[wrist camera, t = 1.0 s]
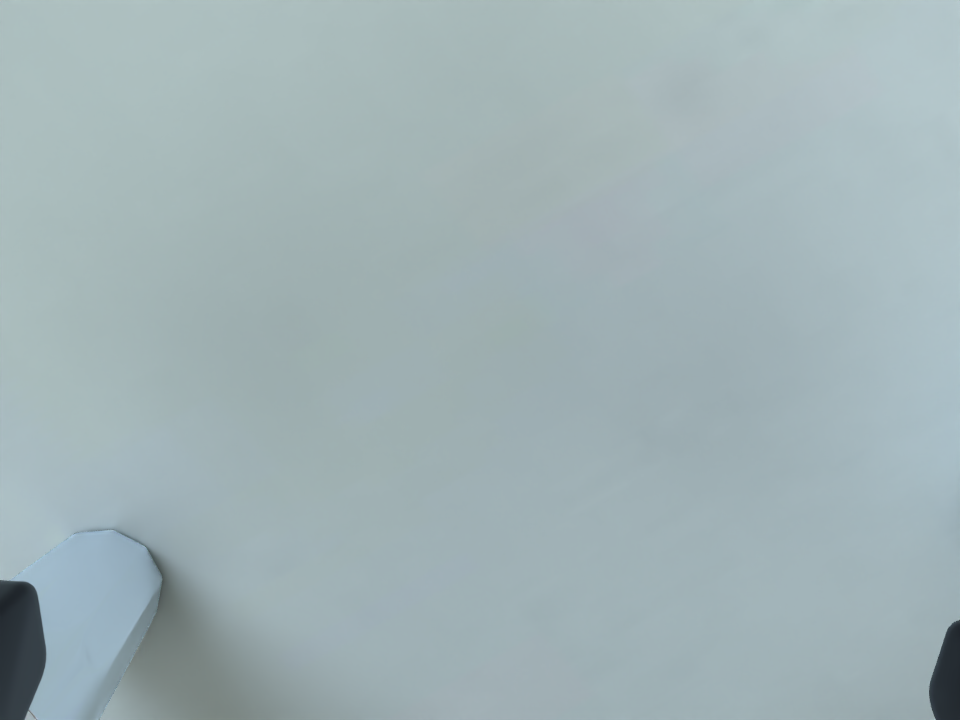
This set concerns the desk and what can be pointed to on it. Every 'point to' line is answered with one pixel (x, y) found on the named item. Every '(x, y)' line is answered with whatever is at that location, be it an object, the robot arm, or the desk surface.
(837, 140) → the desk surface
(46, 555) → the milkshake
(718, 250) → the desk surface
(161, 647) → the desk surface
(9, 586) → the robot arm
